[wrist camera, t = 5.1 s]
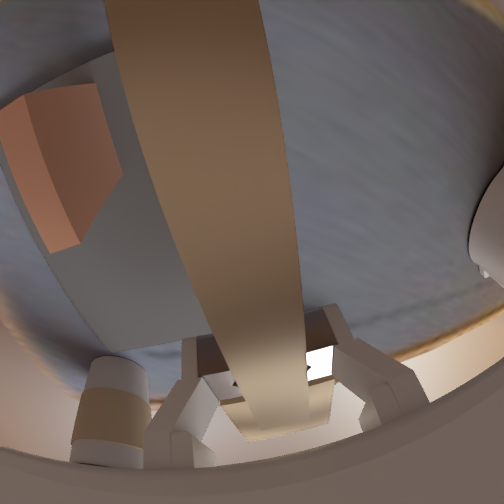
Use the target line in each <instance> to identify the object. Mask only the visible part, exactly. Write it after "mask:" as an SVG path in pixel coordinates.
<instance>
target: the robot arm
mask: <svg viewBox="0 0 504 504" xmlns="http://www.w3.org/2000/svg"><path fill="white" fill-rule="evenodd" d="M469 254H470V257H471V259H472V261H473V262H474V263H476V264H477V265H478V266H479V270H480V274H481V275H482V276H484V277H485V278H487V277H489V276H491V277H492V278H493V279H494V280H495V281H497V282H498V283H499V284H500V285H501V286H502V287H503V288H504V166H503V168H502V169H501V171H500V172H499V173H498V174H497V176H496V177H495V178H494V179H493V181H492V182H491V184H490V185H489V187H488V189H487V191H486V192H485V194H484V196H483V198H482V200H481V202H480V205H479V207H478V210H477V212H476V215H475V218H474V221H473V224H472V228H471V232H470V238H469ZM304 323H305V338H306V363H307V379H308V381H309V380H313V379H317V378H320V377H324V376H328V375H331V374H332V376H333V377H334V378H335V379H337V380H338V381H339V382H340V383H342V384H343V385H344V386H345V387H347V388H348V389H349V390H350V391H352V392H353V393H354V394H355V395H357V396H358V397H359V398H361V399H362V400H363V401H364V402H366V404H365V406H364V408H363V410H362V413H361V415H360V417H359V422H360V425H361V428H362V431H363V433H360V434H357V435H354V436H351V437H348V438H346V439H342V440H339V441H336V442H333V443H330V444H326V445H323V446H320V447H316V448H312V449H308V450H304V451H301V452H296V453H292V454H288V455H284V456H279V457H274V458H269V459H264V460H258V461H252V462H246V463H239V464H232V465H224V466H217V464H216V456H215V453H214V452H213V451H212V450H211V449H209V448H208V447H207V446H205V445H204V444H203V443H202V442H201V440H202V438H203V436H204V434H205V432H206V430H207V428H208V426H209V423H210V421H211V419H212V417H213V415H214V412H215V411H216V408H217V406H218V404H219V401H220V400H225V399H230V398H235V397H240V396H243V395H242V393H241V391H240V389H239V387H238V385H237V383H236V381H235V379H234V377H233V375H232V373H231V371H230V369H229V367H228V365H227V363H226V360H225V358H224V356H223V354H222V352H221V350H220V348H219V346H218V343H217V341H216V339H215V337H214V335H213V333H212V334H206V335H200V336H195V337H189V338H183V341H182V380H178V381H177V382H176V384H175V385H174V387H173V388H172V390H171V391H170V393H169V394H168V396H167V398H166V399H165V401H164V402H163V404H162V405H161V407H160V408H159V410H158V411H157V413H156V414H155V416H154V417H153V419H152V420H151V422H150V423H149V425H148V426H147V428H146V430H145V431H144V436H143V469H128V468H113V467H102V466H93V465H85V464H78V463H72V462H65V461H60V460H54V459H50V458H45V457H41V456H37V455H33V454H29V453H25V452H21V451H18V450H14V449H11V448H8V447H0V504H504V357H503V358H502V359H501V360H499V361H498V362H497V363H495V364H494V365H492V366H491V367H489V368H488V369H486V370H485V371H483V372H482V373H480V374H479V375H477V376H476V377H474V378H473V379H471V380H470V381H468V382H466V383H465V384H463V385H461V386H460V387H458V388H456V389H455V390H453V391H451V392H449V393H448V394H446V395H444V396H442V397H441V398H438V399H437V400H435V401H433V402H431V403H430V402H429V400H428V398H427V396H426V394H425V392H424V391H423V388H422V386H421V384H420V382H419V380H418V379H417V377H416V375H415V373H414V371H413V370H412V369H410V368H408V367H407V366H405V365H403V364H401V363H400V362H398V361H396V360H395V359H393V358H391V357H389V356H388V355H386V354H384V353H383V352H381V351H379V350H377V349H376V348H374V347H372V346H371V345H369V344H367V343H366V342H364V341H362V340H361V339H359V338H358V339H354V338H353V336H352V333H351V331H350V329H349V327H348V325H347V323H346V321H345V319H344V317H343V315H342V313H341V311H340V309H339V307H338V305H337V304H336V303H334V304H330V305H327V306H323V307H319V308H315V309H312V310H308V311H304Z"/></svg>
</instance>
